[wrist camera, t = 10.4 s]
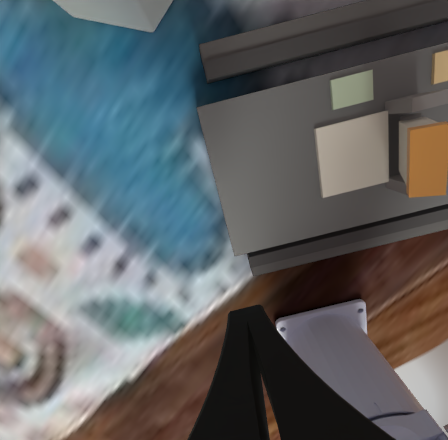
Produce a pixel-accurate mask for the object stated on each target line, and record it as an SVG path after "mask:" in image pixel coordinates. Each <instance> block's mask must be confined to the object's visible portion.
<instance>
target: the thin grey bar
mask: <svg viewBox="0 0 448 440" xmlns="http://www.w3.org/2000/svg"><path fill="white" fill-rule="evenodd" d="M445 229H448V204H445V205H441V206H437V207H433V208H429V209H425V210H421V211H417V212H413V213H408V214H404V215H400V216H396V217H392V218H388V219H384V220H380V221H376V222H372V223H368V224H364V225H360V226H356V227H352V228H348V229H344V230H340V231H335V232H331V233H327V234H323V235H319V236H315V237H311V238H307V239H303V240H299V241H295V242H291V243H287V244H283V245H279V246H275V247H271V248H267V249H262V250H258V251H254V252H250V253H247V255H248V259H249V263H250V267H251V270H252V274H253V276H257V275H261V274H265V273H269V272H274V271H278V270H282V269H286V268H290V267H294V266H298V265H302V264H306V263H310V262H314V261H318V260H323V259H327V258H331V257H335V256H339V255H343V254H347V253H351V252H355V251H359V250H363V249H368V248H372V247H376V246H380V245H384V244H388V243H392V242H396V241H400V240H404V239H408V238H412V237H417V236H421V235H425V234H429V233H433V232H437V231H441V230H445Z"/></svg>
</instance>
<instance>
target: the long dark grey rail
mask: <svg viewBox="0 0 448 440" xmlns="http://www.w3.org/2000/svg"><path fill="white" fill-rule="evenodd" d="M446 21H448V0H365V1H362V2H358V3H354V4H350V5H346V6H343V7H339V8H335V9H331V10H328V11H324V12H320V13H316V14H312V15H309V16H305V17H301V18H297V19H293V20H290V21H286V22H282V23H278V24H275V25H271V26H267V27H263V28H259V29H256V30H252V31H248V32H244V33H241V34H237V35H233V36H229V37H225V38H222V39H218V40H214V41H210V42H207V43H203V44H199V48H200V55H201V59H202V63H203V67H204V72H205V76H206V80H207V84H208V83H212V82H216V81H220V80H223V79H227V78H231V77H235V76H239V75H243V74H246V73H250V72H254V71H258V70H262V69H266V68H269V67H273V66H277V65H281V64H285V63H289V62H292V61H296V60H300V59H304V58H308V57H312V56H315V55H319V54H323V53H327V52H331V51H334V50H338V49H342V48H346V47H350V46H354V45H357V44H361V43H365V42H369V41H373V40H377V39H380V38H384V37H388V36H392V35H396V34H400V33H403V32H407V31H411V30H415V29H419V28H423V27H426V26H430V25H434V24H438V23H442V22H446Z"/></svg>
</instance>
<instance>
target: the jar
mask: <svg viewBox="0 0 448 440" xmlns="http://www.w3.org/2000/svg"><path fill="white" fill-rule="evenodd" d="M53 1H54V2H55V3H56V4H58V5H59V6H60V7H61V8H62V9H64V10H65V11H66V12H67V13H69V14H70V15H71V16H72V17H75V18H80V19H86V20H91V21H96V22H101V23H106V24H111V25H116V26H121V27H126V28H131V29H136V30H141V31H146V32H154V31H155V29H156V28H157V26H158V24H159V23H160V21H161V20H162V18H163V16H164V15H165V13H166V11H167V10H168V8H169V7H170V5H171V3H172V2H173V0H53Z"/></svg>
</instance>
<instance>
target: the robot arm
mask: <svg viewBox="0 0 448 440" xmlns="http://www.w3.org/2000/svg"><path fill="white" fill-rule="evenodd" d="M360 308H361V309H360ZM359 309H360V310H359ZM275 324H276V328H275V326H274V325H273V324H272V322H271V321H270V319H269V318H268V316H267V314H266V313H265V311H264V309H263V307H262V306H261V305H255V306H251V307H247V308H243V309H239V310H234V311H230V312H229V314H228V322H227V329H226V334H225V339H224V343H223V347H222V351H221V355H220V359H219V362H218V365H217V368H216V371H215V375H214V378H213V381H212V384H211V386H210V389H209V392H208V394H207V397H206V399H205V402H204V404H203V407H202V409H201V411H200V414H199V416H198V418H197V420H196V423H195V425H194V427H193V429H192V431H191V433H190V435H189V438H188V440H270V438H269V431H268V424H267V417H266V409H265V402H264V395H263V387H262V380H261V375H262V378H263V381H264V384H265V387H266V391H267V394H268V397H269V400H270V403H271V406H272V409H273V413H274V416H275V419H276V422H277V425H278V429H279V433H280V437H281V440H448V437H447V436H446V435H445V433H444V432H443V431H442V429H441V428H440V427H439V426H438V424H437V423H436V422H435V420H434V419H433V418H432V416H431V415H430V414H429V413H428V411H427V410H425V409H424V408H423V407H422V406H421V405H420V403H419V402H418V401H417V399H416V398H415V397H414V395H413V394H412V393H411V392H410V390H409V389H408V388H407V386H406V385H405V384H404V382H403V381H402V380H401V379H400V377H399V376H398V375H397V373H396V372H395V371H394V370H393V368H392V367H391V366H390V364H389V363H388V362H387V360H386V359H385V358H384V357H383V355H382V354H381V353H380V351H379V350H378V349H377V347H376V346H375V345H374V344H373V342H372V341H371V340H370V338H369V337H368V336H367V321H366V304H365V302H364V301H363V300H361V299H357V300H353V301H348V302H344V303H340V304H336V305H332V306H328V307H324V308H319V309H315V310H311V311H307V312H303V313H299V314H294V315H290V316H286V317H282V318H279V319H277V320H276V322H275ZM282 327H284V328H282ZM280 328H282V329H280ZM260 372H261V373H260ZM444 428H445V430H446V431H447V432H448V424H447V425H445V426H444Z"/></svg>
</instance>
